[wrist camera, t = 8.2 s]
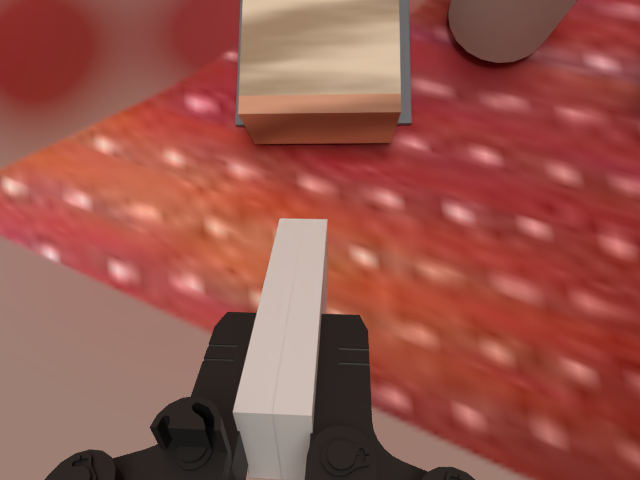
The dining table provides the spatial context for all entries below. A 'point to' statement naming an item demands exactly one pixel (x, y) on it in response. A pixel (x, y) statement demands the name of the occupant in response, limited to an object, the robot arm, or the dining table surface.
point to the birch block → (320, 71)
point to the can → (505, 26)
